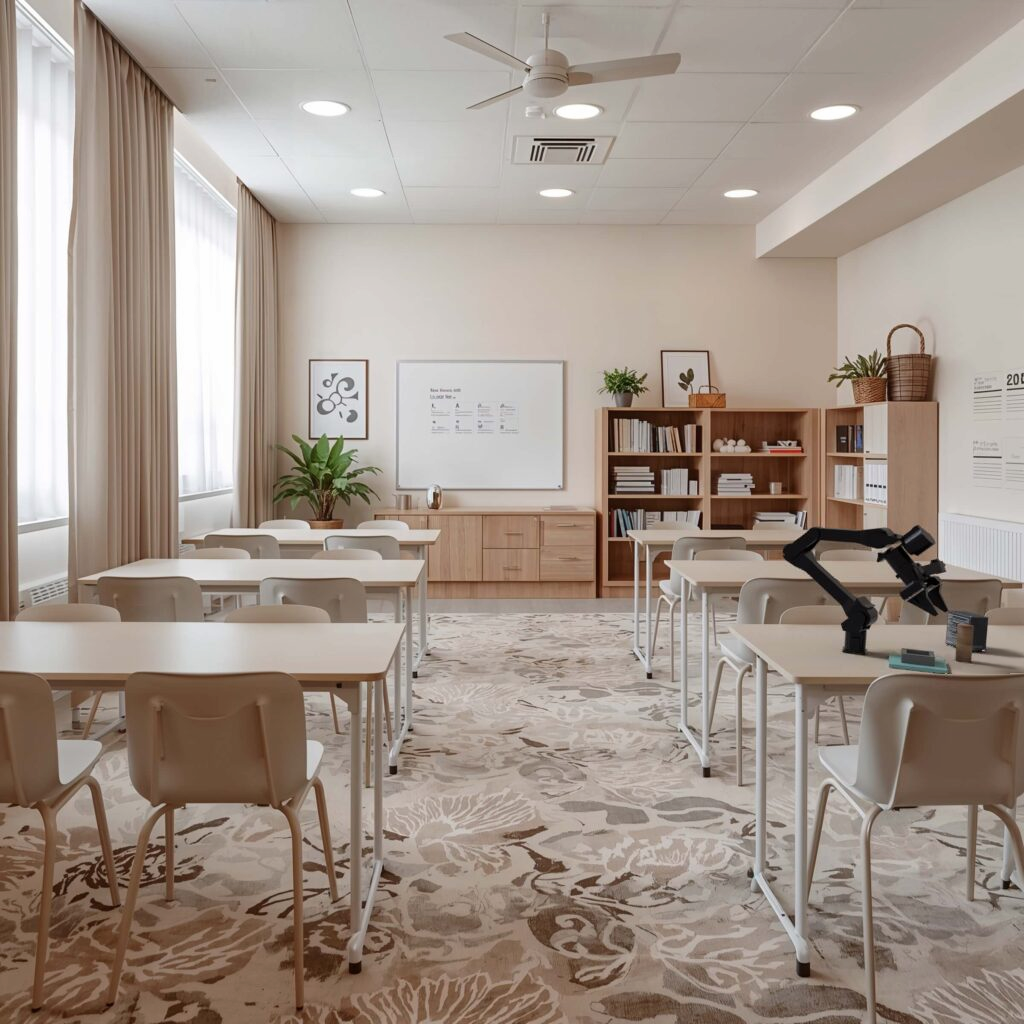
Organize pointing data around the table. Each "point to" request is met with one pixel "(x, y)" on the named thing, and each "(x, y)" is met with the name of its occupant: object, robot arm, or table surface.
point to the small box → (969, 619)
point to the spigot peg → (964, 643)
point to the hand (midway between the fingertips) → (941, 613)
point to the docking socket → (917, 661)
